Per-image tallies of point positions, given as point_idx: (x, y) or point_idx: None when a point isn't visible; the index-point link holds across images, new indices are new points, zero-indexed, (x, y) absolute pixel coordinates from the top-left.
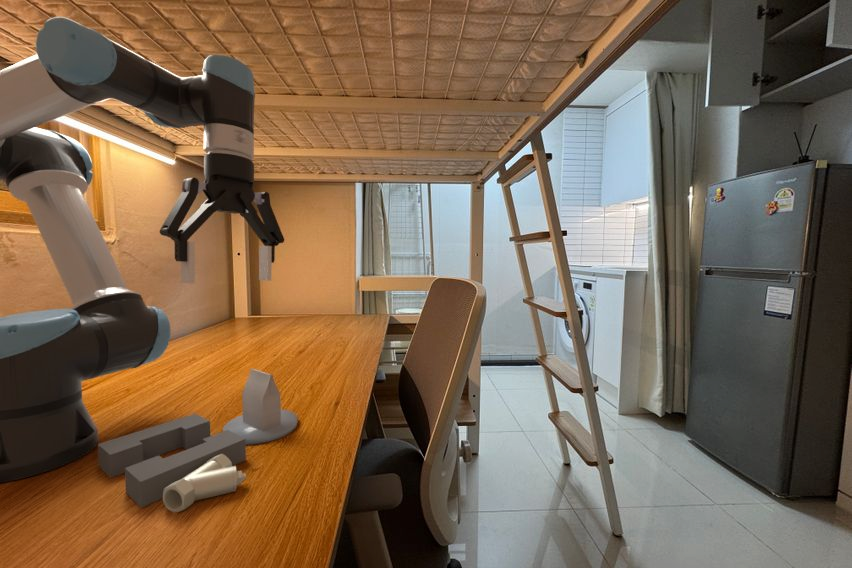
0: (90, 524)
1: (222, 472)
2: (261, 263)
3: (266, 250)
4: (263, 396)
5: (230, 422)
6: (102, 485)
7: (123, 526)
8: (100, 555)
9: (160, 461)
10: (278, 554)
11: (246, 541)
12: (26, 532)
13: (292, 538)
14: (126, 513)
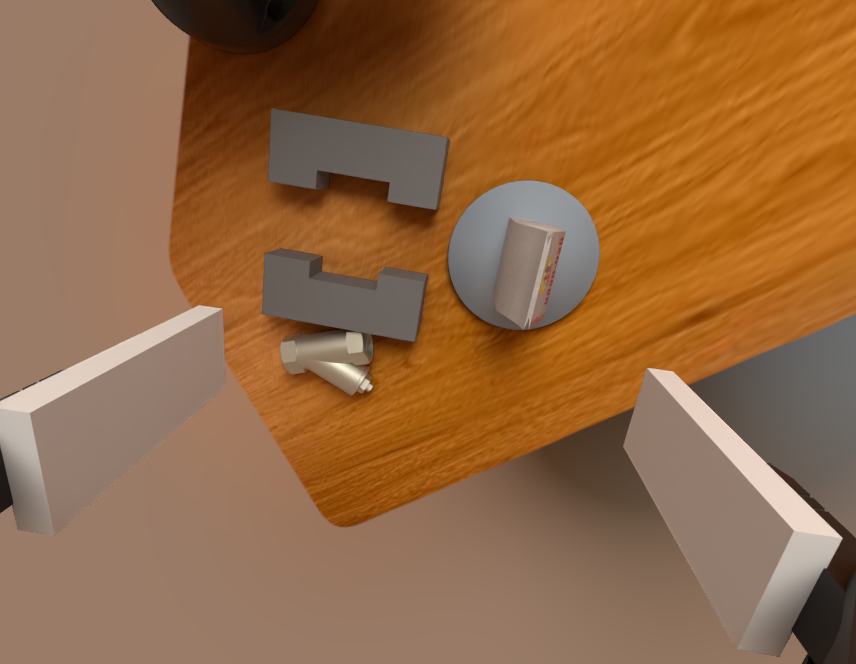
0: (232, 280)
1: (339, 383)
2: (687, 451)
3: (718, 592)
4: (500, 311)
5: (495, 193)
6: (270, 193)
7: (252, 320)
8: None
9: (302, 284)
10: (316, 495)
11: (311, 457)
12: (185, 226)
13: (337, 493)
14: None
